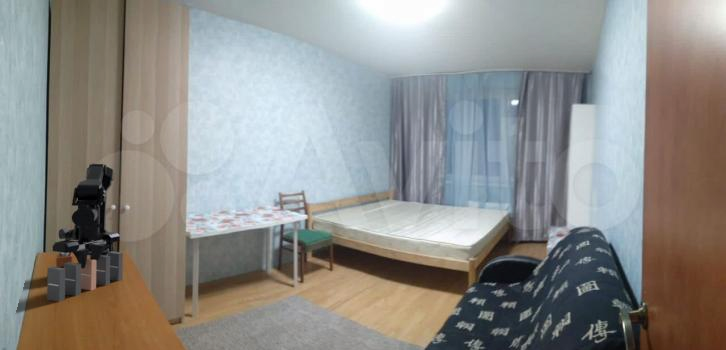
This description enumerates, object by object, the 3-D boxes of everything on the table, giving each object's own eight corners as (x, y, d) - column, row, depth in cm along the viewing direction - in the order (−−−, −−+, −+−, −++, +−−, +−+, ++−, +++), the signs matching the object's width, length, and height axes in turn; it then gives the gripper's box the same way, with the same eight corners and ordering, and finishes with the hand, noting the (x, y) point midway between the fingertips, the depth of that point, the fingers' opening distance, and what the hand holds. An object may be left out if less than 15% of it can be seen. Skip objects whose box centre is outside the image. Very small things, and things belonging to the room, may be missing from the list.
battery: (55, 283, 123) (56, 255, 123) (57, 277, 128) (58, 250, 128) (72, 281, 126) (72, 253, 125) (73, 275, 131) (73, 249, 131)
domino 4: (98, 282, 126) (99, 254, 126) (109, 284, 125) (110, 256, 124) (94, 283, 124) (94, 255, 124) (105, 285, 123) (106, 257, 123)
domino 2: (69, 292, 116) (69, 262, 116) (80, 294, 115) (81, 264, 115) (63, 293, 115) (64, 263, 114) (75, 296, 113) (75, 265, 113)
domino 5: (111, 277, 131) (112, 251, 130) (122, 279, 130) (122, 252, 129) (107, 279, 129) (107, 252, 129) (118, 281, 128) (118, 253, 128)
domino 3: (84, 286, 121) (85, 258, 121) (95, 288, 120) (96, 259, 119) (79, 288, 120) (80, 259, 119) (91, 290, 118) (91, 261, 118)
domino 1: (52, 297, 111) (53, 266, 111) (64, 299, 110) (65, 268, 110) (46, 299, 110) (47, 267, 109) (59, 301, 109) (59, 269, 108)
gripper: (97, 215, 130) (96, 257, 130) (39, 223, 112) (39, 272, 112) (121, 217, 127) (120, 260, 128) (66, 226, 109) (65, 276, 109)
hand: (88, 266), depth 119 cm, fingers open, 3 cm apart
